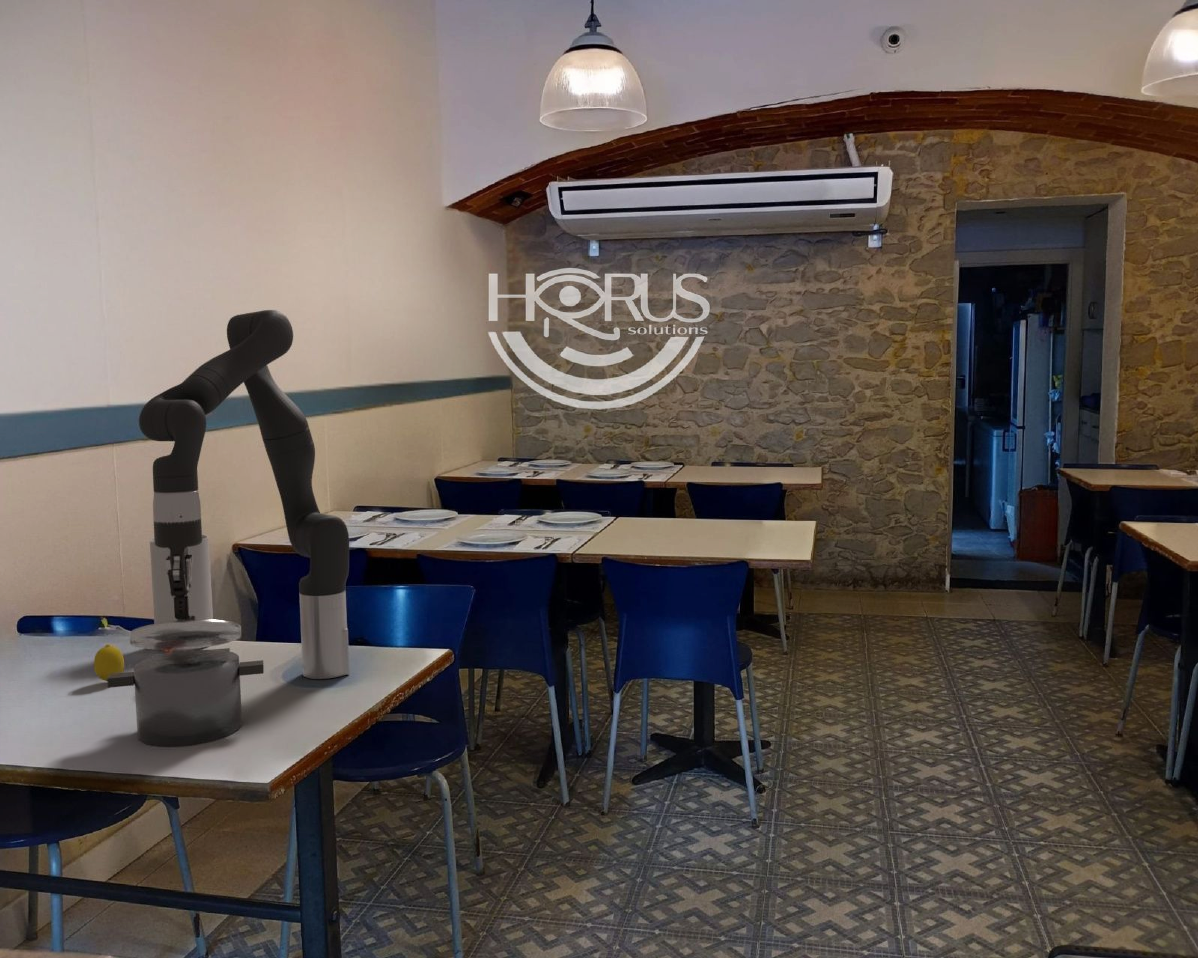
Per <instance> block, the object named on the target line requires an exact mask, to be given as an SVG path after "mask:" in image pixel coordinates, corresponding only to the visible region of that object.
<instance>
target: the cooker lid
mask: <svg viewBox="0 0 1198 958" xmlns="http://www.w3.org/2000/svg"><path fill="white" fill-rule="evenodd" d="M241 637H242V626H241V625H240V624H239V623H237V622H233V621H230V620H222V619H221V620H220V619H213V620H195V616H191V615H189V616H188V618H187V619H177V621H170V622H162V623H156V624H154V623H151V624H147V625H143V626H139V627H137V628H134V629H132V630H131V631H130V632H129V644H130V645H131V646H132V647H135V648H141V649H146V650H160V651H162V650H175V649H192V648H201V649H203V648H202V647H204V648H207V647H214V646H220V645H224V644H229V643H231V642H234V641H237V640H239V639H240V638H241Z"/></svg>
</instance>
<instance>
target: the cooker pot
mask: <svg viewBox="0 0 1198 958" xmlns="http://www.w3.org/2000/svg"><path fill="white" fill-rule="evenodd" d="M230 649H231V648H230V647H226V648H216V649H215V648H214V649H196V650H190V651H181V652H172V653H166V654H164V653H156V654H153V655H152V657H149V658H146V659H144V660H142V661H139V662H137V664H135V665H134V667H133V671H127V672H122V673H113V674H110V675H109V677H108V682H107V688H108V689H110V688H119V687H132V686H134V695H135V712H136V713H135V714H136V715H135V716H136V729H137V731H136V732H137V739H138V741H140V742H141V743H142V744H145V745H148V746H152V747H153V746H154V747H166V748H167V747H168V748H170V747H171V748H172V747H173V748H178V747H188V746H195V745H201V744H206V743H210V742H214V741H218V740H221V739H225V738H226V737H229V736H231V735H233V734H235V733H236V732H238V730H240V729H241V728H242V726H243V715H242V713H243V712H242V711H243V710H242V694H241V693H242V691H241V688H242V687H241V676H252V675H263V674H264V670H265V669H264V667H265V664H264V660H263V659H262V660H253V661H240V656H239V654H237V653H235V652H232V651H231V650H230Z"/></svg>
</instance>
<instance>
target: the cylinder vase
mask: <svg viewBox="0 0 1198 958" xmlns="http://www.w3.org/2000/svg"><path fill="white" fill-rule="evenodd" d="M149 548H150V549H149V550H150V552H149V553H150V566H151V567H150V569H151V585H152V587H151V588H152V601H153V603H152V605H153V606H152V607H153V621H154V623H153V624H156V623H162V622H170V621H177V619H176V618H175V613H174V598H173V596H171V593H170V591H171V590H170V584H169V581H168V574H167V572H168V569H167V568H166V558H168V556H170V549H169V548H160V547H157V546H156V545H155V541H154V538H151V539H149ZM191 554H192V556H193V563H192V565H191V568H192V579H191V581H190V584H191V587H190V589H189V590H190V593H189V595H188V597H189V615H191V616H195V620H214V613H213V594H212V575H211V572H212V571H211V556H210V555H211V554H210V536H209V535H206V534H202V542H201V544H199V545H196V546H191V547H188V555H191ZM204 648H205V647H202V648H192V649H175V650H172V653H174V652H181V651H190V650H202V649H204ZM161 651H162V652H165V651H166V650H161Z"/></svg>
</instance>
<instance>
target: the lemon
mask: <svg viewBox="0 0 1198 958" xmlns="http://www.w3.org/2000/svg"><path fill="white" fill-rule="evenodd" d="M93 667H94V672H95V674H96V676H97V677H98V678H99V679H101V680H103V681H106V682H107V683H108V677H109V675H110V674H113V673H124V669H125V659H124V655H123V653H122V651H121V650H120V648H118V647H117V646H114V645H111V644H110V643H108V644H106V645H104V646H103V647H101V648H99V650H97V652H96V654H95V656H94V659H93Z"/></svg>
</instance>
